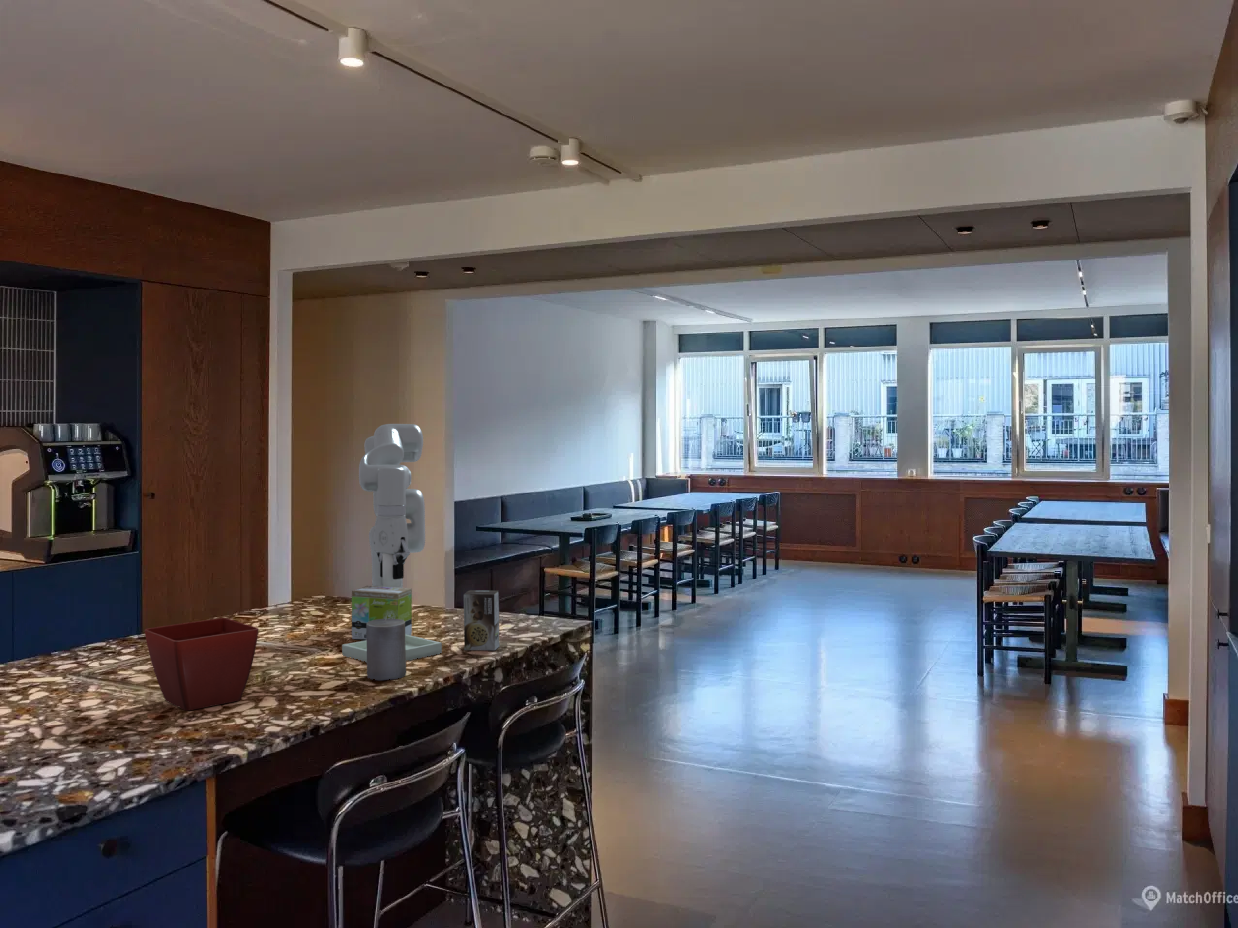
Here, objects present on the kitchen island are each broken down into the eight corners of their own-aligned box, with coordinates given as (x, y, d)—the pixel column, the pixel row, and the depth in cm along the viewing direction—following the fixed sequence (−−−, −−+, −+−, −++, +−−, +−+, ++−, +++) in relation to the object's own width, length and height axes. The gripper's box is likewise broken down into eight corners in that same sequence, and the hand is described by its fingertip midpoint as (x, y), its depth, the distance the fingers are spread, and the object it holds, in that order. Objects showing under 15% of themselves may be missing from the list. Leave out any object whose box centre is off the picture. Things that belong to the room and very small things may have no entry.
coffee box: (500, 645, 291) (500, 590, 290) (495, 651, 284) (495, 593, 284) (468, 645, 292) (468, 589, 291) (463, 650, 285) (463, 593, 284)
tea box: (350, 640, 298) (350, 590, 297) (367, 633, 307) (366, 584, 307) (397, 643, 294) (397, 592, 293) (412, 635, 304) (412, 586, 303)
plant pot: (143, 700, 233) (142, 627, 232) (225, 685, 246) (225, 616, 245) (176, 718, 219) (175, 640, 218) (261, 701, 232) (260, 628, 232)
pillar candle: (384, 669, 263) (383, 611, 262) (414, 673, 258) (413, 615, 257) (358, 678, 254) (357, 618, 253) (388, 682, 250) (387, 622, 249)
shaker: (377, 585, 278) (377, 544, 278) (394, 583, 282) (393, 542, 282) (389, 588, 275) (389, 545, 274) (406, 585, 279) (405, 544, 278)
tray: (342, 655, 278) (342, 644, 277) (402, 643, 293) (402, 633, 293) (381, 666, 266) (381, 654, 266) (441, 653, 281) (441, 642, 281)
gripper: (361, 510, 280) (362, 576, 281) (399, 514, 269) (399, 582, 270) (384, 508, 286) (384, 573, 287) (422, 512, 275) (422, 579, 275)
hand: (391, 576), depth 278 cm, fingers closed on shaker, 5 cm apart
